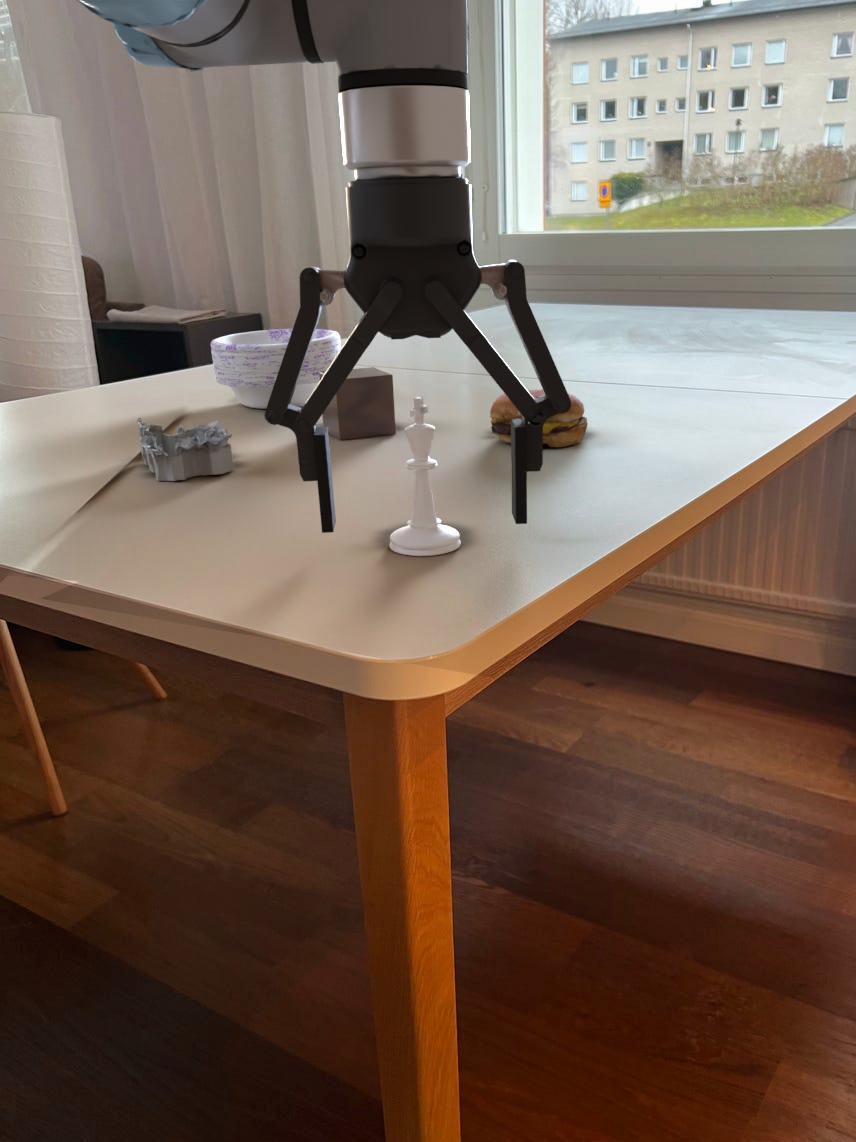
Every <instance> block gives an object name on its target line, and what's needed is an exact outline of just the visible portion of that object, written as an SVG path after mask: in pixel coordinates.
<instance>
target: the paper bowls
mask: <svg viewBox="0 0 856 1142" xmlns="http://www.w3.org/2000/svg"><path fill="white" fill-rule="evenodd" d="M292 330H293V328H278V329H277V328H276V329H265V330H264V329H263V330H255V331H246V332H237V333H233V334H228V335H224V336H220V337H217V338H214V339H212V340H211V342H210V348H211V350H210V352H211V359H212V364H213V371H214V372H213V373H214V374H213V375H214V376H215V382H216V383H217V384H219V385H223V386H227V387H229V388H230V390H231V391H232V393H233V395H234V397H235V398H236V400H237V401H238V403H240V404H241V405H242V406H244V407H247V408H251V409H261V410H266V408H267V405H268V402H269V399H270V396H271V393H272V390H273V387H274V384H275V381H276V378H277V375H278V372H279V369H280V366H281V363H282V360H283V357H284V354H285V351H286V348H287V345H288V342H289V339H290V336H291V333H292ZM341 345H342V343H341V335H340V333H339V332H338V331H335V330H330V329H323V328H316V330H315V332H314V335H313V338H312V341H311V344H310V347H309V350H308V353H307V356H306V359H305V362H304V365H303V367H302V370H301V373H300V376H299V379H298V382H297V385H296V388H295V391H294V394H293V397H292V400H291V402H290V405H294V406H297V407H300V408H301V407H303V405H304V404H305V402H306V401H307V399H308V398H309V396H310V395H311V393H312V392H313V390H314V389H315V387H316V386H317V384H318V383H319V381H320V380H319V372H324V371H327V369H328V368H329V366H330V365H331V363H332V362H333V360H334V359H335V357H336V356H337V354H338V353H339V351H340V350H341V348H342V346H341Z"/></svg>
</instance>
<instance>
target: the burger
mask: <svg viewBox="0 0 856 1142" xmlns="http://www.w3.org/2000/svg"><path fill="white" fill-rule="evenodd" d="M526 389H527V388H526ZM527 391H528V392H529V393H530V394H531V396H532V397H533V398H534V399H536V398H538V397H541V396H543V395H545V392H544V390H543V388H541V389H539V388H535V389H534V388H530V389H529V388H528V389H527ZM568 395H569V397H570V400H571V408H570V410H569V411H568V412H566V413H564V414H557V415H555V416H552V417H550V418H548V419H547V420H546V421H545V423H544V425H543V445H544V444H545V445H548V447H550V448H565V447H568V446H572V445H577V444H580V443H581V442H582V441H583V440H584V438H585V436H586V432H587V428H588V418H587V417H586V416H584V412H585V404H584V403H583V402H582V401H581V400H580V399H579V398H578V397H577V396H575V395H574V394H571V393H568ZM489 413H490V414H489V419H491V421H490V423H491V426H490V429H491V433H492V434H494V435H495V436H497V437H498V438H499V439H500V440H501V441H502V442H503V443H507V444H511V419H522V414H521V413H520V412H519V410H518V409H517V408H516V407H515V406H514V404H513V403H512V402H511V401H510V399H509V398H508V397H507V396H506V394H505V393H504V392H503V393H502V394H501V395H499V396H498V397H496V399H495V400H493V402H492V405H491V408H490V410H489Z"/></svg>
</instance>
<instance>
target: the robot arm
mask: <svg viewBox="0 0 856 1142" xmlns="http://www.w3.org/2000/svg"><path fill="white" fill-rule="evenodd" d="M76 1H77V3H79V4H80V5H82V6H83V7H85V8H86V9H87V10H88V11H90V12H91V13H93V15H95V16H98V17H99V18H101V19H103V20H105V21H107V22H110V23H111V24H112V26H113V27H112V28H113V29H114V31H115V34H116V36H117V38H118V39H119V40H120V41H121V42H122V43H123V45H124V48H125V50H126V52H127V53H128V55H129V56H130V57H131V58H132V59H133V60H135V62H137V63H138V64H140V65H143V66H145V67H149V68H173V69H174V68H175V69H185V70H187V71H190V72H200V71H204V69H206V68H223V67H243V66H261V65H282V64H283V65H284V64H299V63H300V64H302V63H310V64H312V65H313V64H324V63H335V65H336V71H337V85H338V86H337V87H338V108H339V118H340V119H339V121H340V132H341V149H342V158H343V161H342V163H343V166H344V167H346V169H347V170H349V171H354V180H350V181H348V186H346V187H345V201H346V214H347V215H346V216H347V228H348V230H347V231H348V243H349V259H348V264H347V266H346V269H345V270H344V269H328V268H327V269H325V268H319V267H318V266H317V265H309V266H307V267H305V268H304V269H302V270H301V271H300V274H299V309H298V312H297V316H296V317H295V321H294V325H293V327H292V329H293V330H292V333H291V336H290V339H289V342H288V345H287V348H286V351H285V354H284V357H283V360H282V363H281V366H280V369H279V372H278V375H277V378H276V381H275V384H274V387H273V390H272V393H271V396H270V399H269V402H268V405H267V408H266V409H265V411H264V419H265V421H266V422H267V423H268V424H270V425H272V426H277V425H279V426H281V427H284V428H287V429H290V430H291V431H292V432H293V433H294V435H295V439H296V450H297V458H298V471H299V476H300V477H301V479H302V481H303V482H317V492H318V503H319V514H320V515H319V516H320V525H321V533H322V534H328V533H334V531H335V526H336V523H337V518H336V517H337V516H336V507H335V497H334V496H335V494H334V482H333V471H332V461H331V449H330V448H331V447H330V437H329V433H328V426H327V427H323V426H317V423H318V422H319V420H320V418H322V414H323V412H324V411H325V410H326V408H327V407H328V405H329V404H330V402H331V401H332V399H333V398H334V396H335V395H336V393H337V392H338V390H339V389H340V387H341V386H342V384H343V383H344V381H345V380H346V378H347V377H348V375H349V374H350V372H351V371H352V369H355V366H356V365H357V364H358V362H359V360H360V359H361V358H362V356H363V354H365V352H366V350H367V349H368V348H369V346H370V345H371V344H372V342H373V340H374V339H375V337H376V336H377V334H378V333H380V334H381V335H382V336H384V337H387V338H388V339H389V338H390V340H405V339H408V338H411V337H414V336H415V337H416V336H418V337H423V338H426V339H442V337H443V336H445V335H447V334H448V333H450V332H451V331H452V330H453V331H454V332H455V333H456V335H457V336H458V337H459V339H460V341H462V342H463V344H464V345H465V346H466V347H467V348H468V350H469V351H470V352H471V353H472V355H473V356H474V357H475V358H476V360H477V361H478V362H479V364H481V366H482V367H483V368H484V369H485V371H486V372H487V373H488V374H489V376H490V377H491V378H492V379H493V381H494V382H495V383H496V384H497V386H498V387H499V388H500V390H501V391H502V392H503V394H504V393H505V394H506V396H507V397H508V398H509V399H510V401H511V402H512V403H513V404H514V406H515V407H516V408H517V409H518V410H519V412H520V413H521V414H522V419H511V443H510V455H511V456H510V464H511V465H510V469H511V471H510V472H511V475H510V478H511V481H510V482H511V514H512V518H513V520H514V523H515V525H525V524H528V473H535V472H541V470H542V467H543V465H544V444H543V425H544V423H545V421H546V420H547V419H548V418H550V417H552V416H555V415H557V414H564V413H566V412H568V411H569V410H570V408H571V400H570V397H569V395H568V394H569V393H568V391H567V388H566V386H565V384H564V381H563V379H562V377H561V375H560V373H559V370H558V368H557V366H556V363H555V361H554V359H553V357H552V354H551V352H550V350H549V347H548V345H547V342H546V340H545V338H544V335H543V333H542V332H541V329H540V325H539V324H538V322H537V320H536V317H535V314H534V313H533V311H532V308H531V306H530V304H529V302H528V298H527V296H528V295H527V283H526V282H527V281H526V271H525V267H524V265H523V264H522V263H521V262H519V261H517V260H515V259H508V260H506V261H504V262H503V263H496V264H488V265H487V264H486V265H479V264H478V262H477V260H476V257H475V253H474V245H473V241H474V239H473V207H472V183H468V182H469V180H468V179H467V178H466V177H465V178H464V177H463V173H462V172H461V171H462V170H461V169H462V168H467V166H468V165H469V164H470V163H471V162H472V161H471V127H470V124H471V123H470V120H471V119H470V92H469V76H468V75H469V69H468V67H469V65H468V64H469V63H468V61H469V60H468V57H469V56H468V0H76ZM481 285H487V286H488V287H489V288H490V290H491V293H492V295H493V296H494V297H495V298H496V299H497V300H499V301H504V302H505V306H506V309H507V311H508V314H509V316H510V318H511V321H512V323H513V325H514V327H515V329H516V332H517V334H518V337H519V339H520V341H521V343H522V345H523V348H524V349H525V352H526V355H527V357H528V359H529V361H530V363H531V365H532V368H533V370H534V372H535V374H536V376H537V379H538V381H539V383H540V386H541V389H543V390H544V392H545V395H543V396H541V397H538V398H536V399H534V398H533V397H532V396H531V394H530V393H529V392H528V391H527V388H526V387H525V385H524V384H523V383H522V382H521V380H520V379H519V377H518V376H517V375H516V374H515V373H514V372H513V370H512V369H511V367H510V366H509V365H508V364H507V363H506V361H505V360H504V359H503V358H502V357H501V355H500V354H499V352H497V350H496V349H495V347H494V346H493V345H492V343H490V341H489V340H488V338H486V336H485V335H484V334H483V332H482V331H481V330H480V328H479V327H478V325H476V323H475V322H474V321H473V319H472V318H471V317H470V316H469V314H467V312H466V311H465V310H466V309H467V307H468V306H469V304H470V303H471V301H472V299H473V298H474V297H475V295H476V294H477V292H478V290H479V289H480V287H481ZM341 289H345V290H346V292H347V293H348V294H349V296H350V297H351V299H353V301H354V302H355V303H356V305H357V306H358V308H359V309H360V310H361V311H362V313H363V314H362V316H361V317H360V319H359V320H358V322H357V324H356V325H355V327H354V329H353V330H352V331H351V333H350V335H349V336H348V337H347V339H346V341H345V342H344V344H343V345H342V346H341V350H340V351H339V353H338V354H337V356H336V357H335V359H334V360H333V362H332V363H331V365H330V366H329V368H328V369H327V371H326V372H325V374H324V375H323V377H322V378H321V380H320V381H319V383H318V384H317V386H316V387H315V389H314V390H313V392H312V393H311V395H310V396H309V398H308V399H307V401H306V402H305V404H304V405H303V406H300V407H297V406H294V405H290V402H291V400H292V397H293V394H294V391H295V388H296V385H297V382H298V379H299V376H300V373H301V370H302V367H303V365H304V362H305V359H306V356H307V353H308V350H309V347H310V344H311V341H312V338H313V335H314V332H315V330H316V329H317V326H318V324H319V321H320V318H321V314H322V310H323V309H322V308H323V307H324V306H329V305H331V304H332V303H333V301H334V300H335V296H336V293H337V292H338V291H339V290H341Z"/></svg>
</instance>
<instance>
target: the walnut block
mask: <svg viewBox="0 0 856 1142" xmlns="http://www.w3.org/2000/svg"><path fill="white" fill-rule="evenodd" d="M325 372H326V371H324V372H319V380H321V378H322V377H323V375H324V374H325ZM393 377H394V376H393V374H391V373H388V372H387V371H384V370H381V369H379V368H377V367H374V366H373V367H362V368H360V367H359V368H353V369H352V371H351V372H350V374H349V375H348V377H347V378H346V380H345V381H344V383H343V384H342V386H341V387H340V389H339V390H338V392H337V393H336V395H335V396H334V398H333V399H332V401H331V402H330V404H329V405H328V407H327V408H326V410H325V411H324V412H323V414H322V415H321V417H322V427H327V426H328V434H330V435H331V436H333V437H334V438H335V439H338V440H339V441H347V440H354V439H355V440H356V439H363V438H373V437H381V436H382V437H383V436H391V435H396V434H397V430H396V428H397V427H396V415H395V393H394V379H393Z"/></svg>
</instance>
